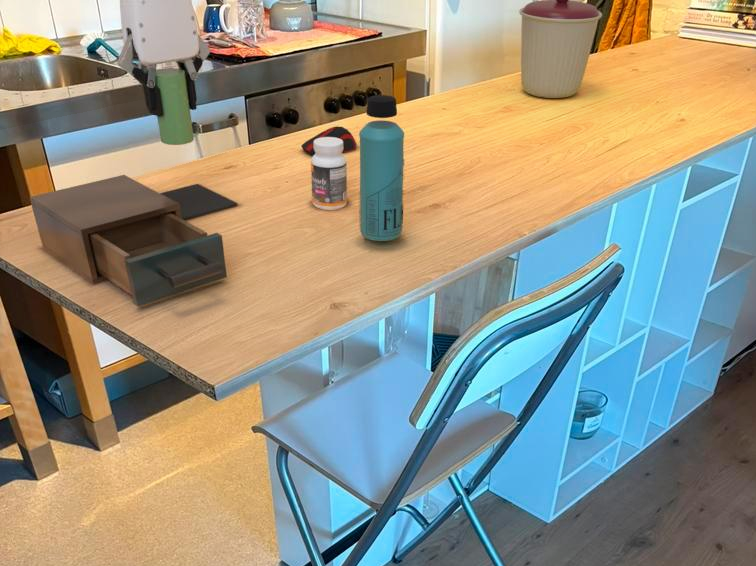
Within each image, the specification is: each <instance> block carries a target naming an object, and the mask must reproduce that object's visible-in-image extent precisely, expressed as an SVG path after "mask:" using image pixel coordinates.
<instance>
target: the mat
mask: <svg viewBox="0 0 756 566" xmlns="http://www.w3.org/2000/svg"><path fill="white" fill-rule="evenodd" d="M159 193H160V194H162V195H164V196H166V197H168V198H169V199H171V200H173V201H175V202H177V203H179V204H180V211H181V218H182V219H183V220H185V221H189V220H193V219H197V218H200V217H203V216H206V215H211V214H214V213H217V212H221V211H225V210H228V209H232V208H236V207H238V202H236V201H234V200H231V199H230V198H228V197H225V196H223V195H221V194H220V193H217V192H215V191H213V190H211V189H209V188H207V187H205V186H204V185H201V184H199V183H196V184H191V185H187V186H183V187H179V188H176V189H171V190H168V191H164V192H159Z"/></svg>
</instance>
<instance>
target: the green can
mask: <svg viewBox="0 0 756 566" xmlns="http://www.w3.org/2000/svg"><path fill="white" fill-rule="evenodd" d="M155 85H156V87H159V89H160V95H161V101H162V108H163V116H161V117H158V116H156V117H157V118H156V119H157V124H158V130H159V136H160V142H161V143H162V144H164V145H169V146H181V145H182V146H183V145H187V144H190V143H192V142H194V140H195V137H194V129H193V122H192V114H191V109H190V106H189V99H188V91H187V84H186V77H185V71H184V70H182V69H179V68H175V67H167V68H166V67H164V68H158V69H157V68H156V80H155Z"/></svg>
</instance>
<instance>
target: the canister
mask: <svg viewBox="0 0 756 566" xmlns="http://www.w3.org/2000/svg"><path fill="white" fill-rule="evenodd" d="M518 12H519V15H520V16H521V31H520V32H521V34H520V35H521V36H520V37H521V38H520V39H521V40H520V41H521V42H520V44H521V45H520V80H521V86H522V89H523V90H524V91H525V92H526V93H527V94H529V95H530V96H533V97H538V98H544V99H563V98H568V97H572V96H574V95H575V94H576V93H578V91H579V89H580V88H581V85H582V83H583V79H584V76H585V73H586V70H587V65H588V61H589V58H590V54H591V49H592V47H593V43H594V38H595V34H596V31H597V27H598V22H599V20H600V19H601V18H602V16H603V13H602V12H601V11H600V10H598V8H597V7H596V6H594V5H593V4H590V3H588V2H582V1H577V0H536V1H535V0H534V1H531V2H529V3H527V4H526V5H524V7H521V8H520V9H519V11H518Z"/></svg>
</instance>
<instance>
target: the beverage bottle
mask: <svg viewBox="0 0 756 566" xmlns="http://www.w3.org/2000/svg"><path fill="white" fill-rule="evenodd" d="M366 103H367V105H366V115H367V116H368V117H371V118H375V119H388V118H393V117H396V116H398V109H397V99H396V97H394V96H392V95H387V94H377V95H376V94H375V95H371V96H369V97H368V98H367V101H366ZM358 136H359V172H360V173H359V183H358V184H359V192H358V195H359V197H358V200H359V211H358V215H359V220H358V221H359V222H358V223H359V230H360V233H361V236H362V237H363V238H365V239H367V240H371V241H376V242H388V241H393V240H396V239H398V238H399V237H401V236H402V235H401V234H402V232H403V228H404V200H403V197H404V194H405V193H404V177H405V174H404V166H405V159H404V158H405V156H406V155H404V153H405V151H404V142H405V141H404V138H405V131H404V130H403V129H402V128H401V127H400V125H398V124H397V123H396V122H394V121H390V120H372V121H369V122H367V123H366V124H365V125H364V126H363V127H362V128H361V129H360V131H359V133H358Z"/></svg>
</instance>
